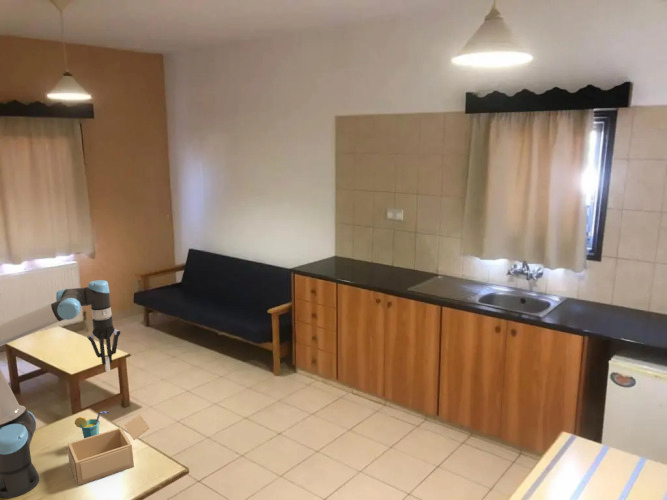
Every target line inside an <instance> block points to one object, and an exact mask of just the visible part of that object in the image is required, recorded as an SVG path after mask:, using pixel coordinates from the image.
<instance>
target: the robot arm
mask: <svg viewBox="0 0 667 500" xmlns="http://www.w3.org/2000/svg"><path fill="white" fill-rule="evenodd" d="M110 292H111V291H110V287H109V282H108V281H107V280H105V279H98V280H92V281H90V282H88V285H87V286H86V287H77V288H65V289H59V290H57V291H56V293H55V295H56V297H55V298H56V301H55V302H52V303H49V304H47V305H45V306H42V307H40V308H37V309H35V310H32V311H30V312H26V313H24V314H22V315H20V316H17V317H15V318H12V319H10V320H8V321H6V322H2V323H0V347H2V346H5V345H7V344H9V343H11V342H14V341H16V340H19V339H21V338H24V337H26V336H28V335H31V334H33V333H35V332H38V331H40V330H43V329H45V328H47V327H50V326H52V325H54V324H57V323H59V322H61V321H65V320H66V321H67V320H69V321H70V320H73V319H75V318H77V316H79V313H80V311H81V309H82V307H87V306H90V309H91V310H90V311H91V318H92V327H93V328H92V329H93V330H92V331H91V332H92V333H91V334H89V335H87V337H86V338H87V340H89V342H90V343H91V346H92V348H93V350H94V354H95V355H96V356H97V358H101V359H100V360H101V364H102V365H103V366H104V369H105V370H104V371H105V372H106V373H110V372H111V364H112V363H113V357H112V356H113V355H115V354H116V353H117V347H118V341H119V336H120V335H121V331H120V330H119V329H116V328H115V327H114V324H113V323H114V322H113V317H112V315H113V313H112V308H111V307H112V305H111V295H110ZM112 335H113V339H112V346H111V337H112ZM95 338H96V339H98V343H99V349H98V345H97V344H96V341H95ZM104 340H105V341H104ZM104 342H105V344H106V353H107V354H106V353H105V344H104ZM36 429H37V420H36V417H35V415H34V413H32V412H31V411H29V410H27V407H26V406H24V405H20V404H19V401H18V400H17V398H16V396H15V394H14V392H13V390H12V389H11V387H10V385H9V383H8V380H7V379H6V376H5V374H4V373H3V371H2V369H1V368H0V499H10V498H12V499H13V498H15V497H19V496H22V495H25V494H27V493H28V492H30V491H32V490H33V489H35V488H36V486H38V484H39V483H40V476H39V472H38V471H37V468H36V467H35V466H34V464H33V462H32V456H31V449H30V445H31V443H32V439H33V437H34V435H35V431H36Z"/></svg>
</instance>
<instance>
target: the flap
mask: <svg viewBox="0 0 667 500" xmlns="http://www.w3.org/2000/svg"><path fill="white" fill-rule="evenodd" d="M124 427H125V428H126V431H127V432H128V434H129V435H130V437H131V439H132V440H133V441H135V440H137V438H139V437H140V436H141V435H143V434H145V432H147V431H148V430H150V429H151V427H150V426H149V425H148V424H147V422H146V420H145V419H144V418H143V417H142V415H141V414H138V415H137V416H135V417H134V418H132V419H131V420H129V422H127V423H126V424H124Z"/></svg>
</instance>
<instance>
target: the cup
mask: <svg viewBox="0 0 667 500" xmlns="http://www.w3.org/2000/svg"><path fill="white" fill-rule="evenodd" d="M104 414H105V415H106V414H109V411H99V413H98V414H97V416H96V417H97V418H94V419H93V418H92V419H91V418H90V419H86V418H85V417H82V416H79V417H77V418H75V420H74V424H75V427H76V428H80V429H81V431H82V435H83V439H84V438H88V437H91V436H94V435H97V434H100V423H101V422H100V421H99V419H100V417H101V415H104Z"/></svg>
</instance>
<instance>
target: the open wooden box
mask: <svg viewBox="0 0 667 500" xmlns="http://www.w3.org/2000/svg"><path fill="white" fill-rule="evenodd" d="M66 448H67V456H68V457H67V458H68V463H69V467H70V468H71V471H72V474H73V477H74V479H75V481H76V483H77V485H78V487H80V486H83V485H86V484H89V483H92V482H94V481H97V480H101V479H103V478H106V477H109V476H113V475H116V474H118V473H120V472H123V471H126V470H129V469H132V468H134V467H135V465H134V455H133V445H132V443H131V441H130V440H129V438H128V437H127V435H126V433H125V431H124V430H123V429H122V427H118V428H115V429H114V428H113V429H111V430H107V431H105V432H102V433H99V434H97V435H94V436H91V437H88V438H84V437H83V438H81V439H77V440H76V441H72V442H71V441H70V442H68V443H67V446H66Z"/></svg>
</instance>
